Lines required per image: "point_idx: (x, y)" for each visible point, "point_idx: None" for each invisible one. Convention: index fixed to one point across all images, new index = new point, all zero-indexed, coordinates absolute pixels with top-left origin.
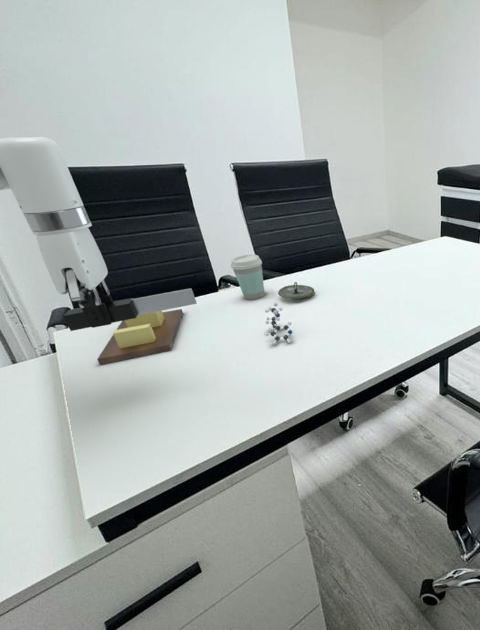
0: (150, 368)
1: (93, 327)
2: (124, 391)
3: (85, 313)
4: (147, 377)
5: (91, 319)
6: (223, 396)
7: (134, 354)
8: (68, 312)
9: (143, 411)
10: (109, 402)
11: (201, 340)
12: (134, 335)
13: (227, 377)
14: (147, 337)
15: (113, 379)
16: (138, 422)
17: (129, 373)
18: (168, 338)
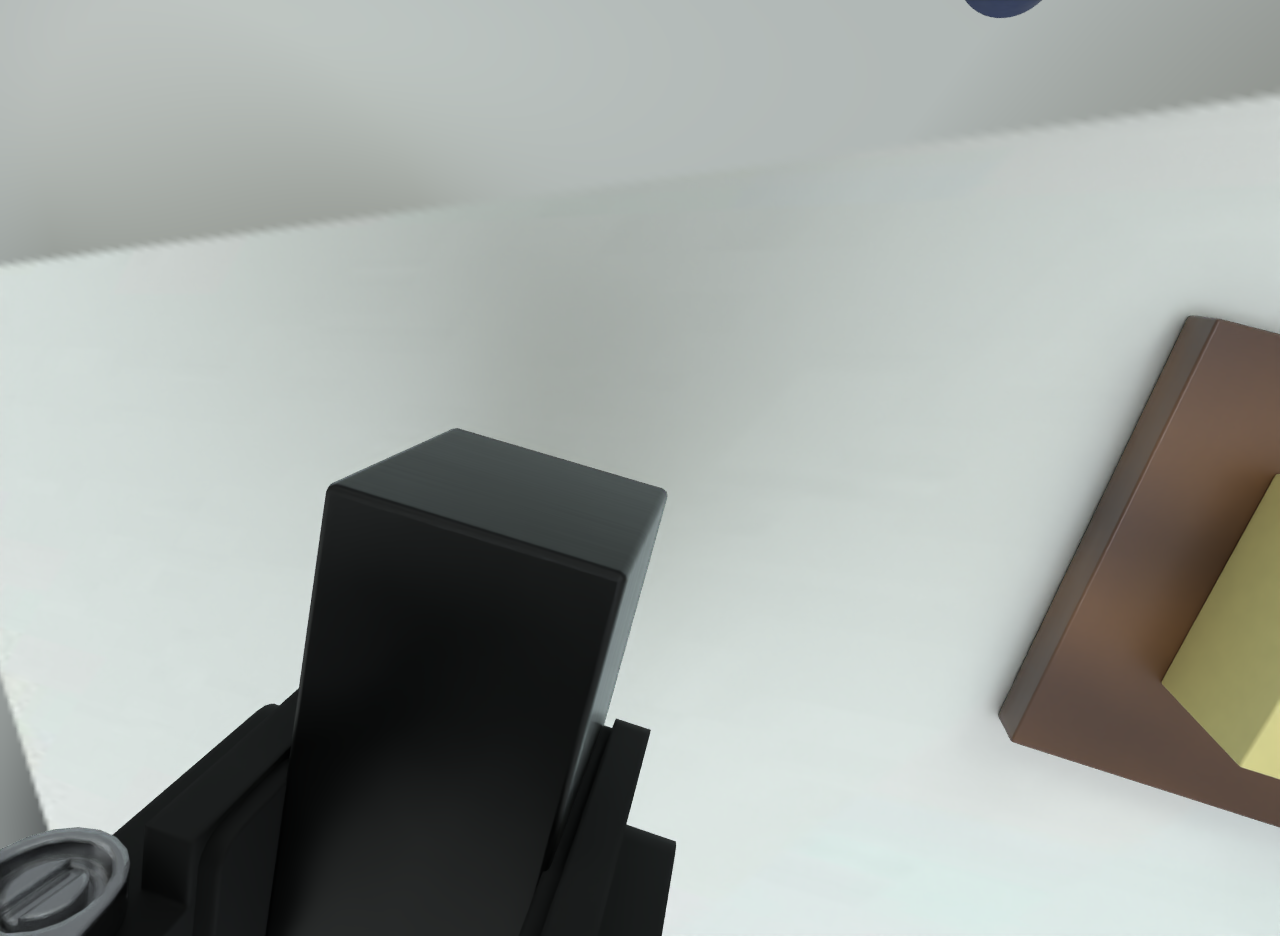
0: (830, 577)
1: None
2: (646, 429)
3: (232, 759)
4: (723, 548)
5: (234, 734)
6: None
7: (1095, 538)
8: (454, 567)
9: None
10: (577, 355)
11: (985, 871)
12: (1268, 631)
13: None
14: (1201, 681)
15: (855, 386)
16: (306, 458)
17: (862, 472)
18: (1130, 762)
